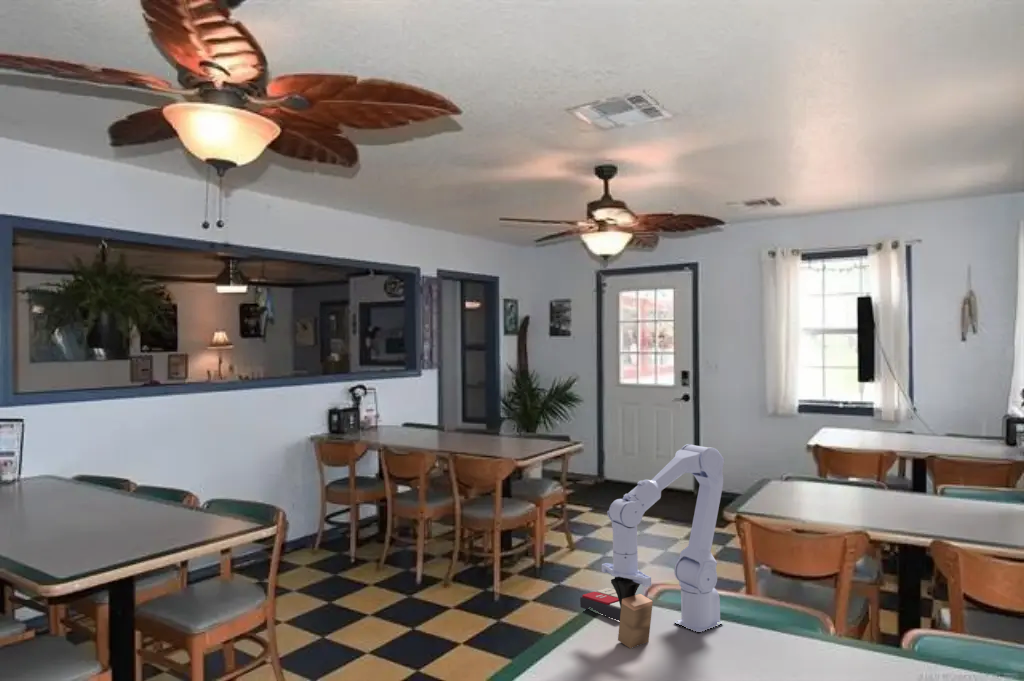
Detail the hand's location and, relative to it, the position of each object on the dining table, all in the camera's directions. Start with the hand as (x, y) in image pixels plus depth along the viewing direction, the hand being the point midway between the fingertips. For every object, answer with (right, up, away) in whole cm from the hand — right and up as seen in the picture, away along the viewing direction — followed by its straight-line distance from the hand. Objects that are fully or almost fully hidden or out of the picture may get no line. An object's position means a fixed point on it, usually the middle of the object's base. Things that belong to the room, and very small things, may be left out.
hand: (626, 609), depth 163 cm
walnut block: (+1, -7, -2) cm, 7 cm away
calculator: (0, -8, +19) cm, 21 cm away
